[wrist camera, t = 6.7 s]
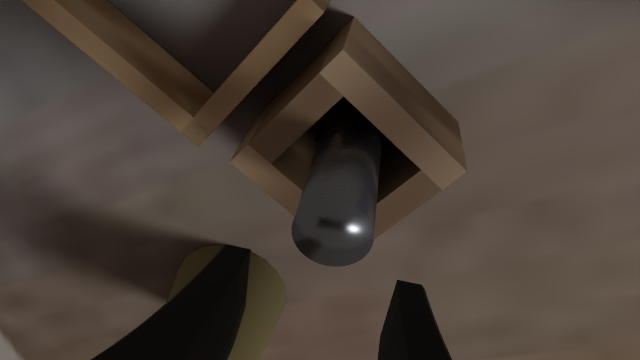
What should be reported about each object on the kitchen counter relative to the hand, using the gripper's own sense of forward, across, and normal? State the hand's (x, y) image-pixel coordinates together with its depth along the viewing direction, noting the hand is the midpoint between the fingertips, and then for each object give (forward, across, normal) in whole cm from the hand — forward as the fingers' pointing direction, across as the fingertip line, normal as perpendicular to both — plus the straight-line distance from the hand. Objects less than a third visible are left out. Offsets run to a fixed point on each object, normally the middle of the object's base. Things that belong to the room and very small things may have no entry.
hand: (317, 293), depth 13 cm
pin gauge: (+10, 0, 0) cm, 10 cm away
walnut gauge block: (+10, 0, 0) cm, 10 cm away
